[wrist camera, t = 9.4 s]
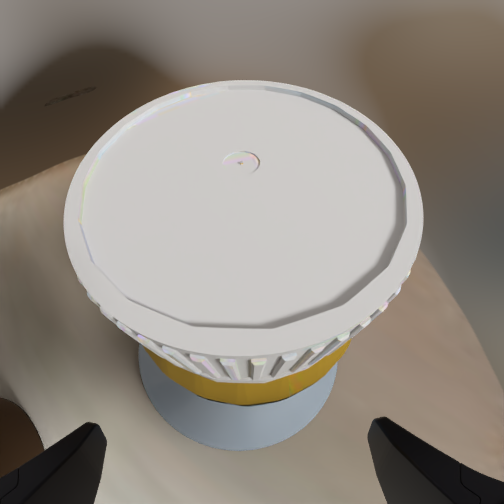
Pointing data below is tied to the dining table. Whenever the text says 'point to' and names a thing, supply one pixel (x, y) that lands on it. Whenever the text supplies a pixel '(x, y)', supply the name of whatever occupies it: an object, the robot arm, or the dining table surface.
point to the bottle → (243, 234)
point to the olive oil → (16, 437)
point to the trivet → (231, 411)
